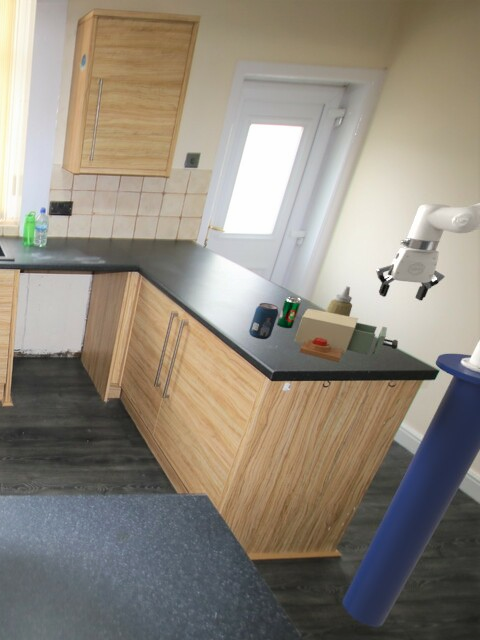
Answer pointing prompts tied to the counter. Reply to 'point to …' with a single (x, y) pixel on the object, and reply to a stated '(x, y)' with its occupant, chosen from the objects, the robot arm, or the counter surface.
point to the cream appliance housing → (326, 328)
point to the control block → (321, 351)
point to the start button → (320, 341)
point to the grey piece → (368, 339)
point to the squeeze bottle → (341, 303)
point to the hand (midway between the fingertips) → (400, 297)
